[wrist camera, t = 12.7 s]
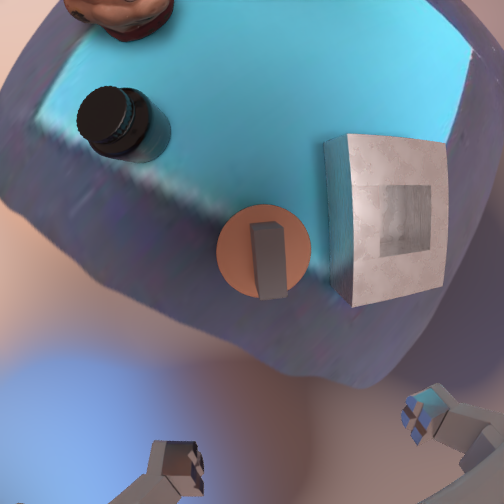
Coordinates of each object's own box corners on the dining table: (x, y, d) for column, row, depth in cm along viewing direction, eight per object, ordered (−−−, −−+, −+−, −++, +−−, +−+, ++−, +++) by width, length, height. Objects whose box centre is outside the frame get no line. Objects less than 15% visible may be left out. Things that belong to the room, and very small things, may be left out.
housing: (322, 142, 30) (347, 133, 23) (412, 146, 31) (445, 143, 24) (330, 284, 35) (352, 307, 28) (413, 270, 36) (442, 285, 29)
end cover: (214, 205, 31) (208, 214, 21) (293, 197, 32) (323, 204, 22) (222, 281, 33) (222, 321, 23) (297, 272, 34) (324, 307, 24)
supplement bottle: (158, 98, 27) (125, 58, 16) (180, 145, 29) (155, 124, 17) (109, 127, 27) (58, 105, 16) (130, 174, 29) (81, 171, 17)
